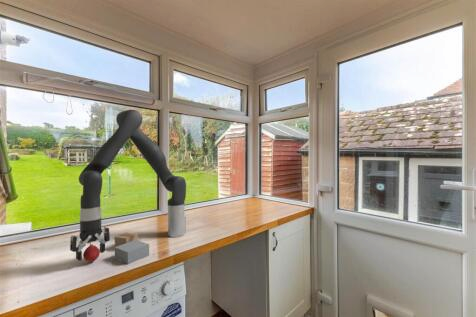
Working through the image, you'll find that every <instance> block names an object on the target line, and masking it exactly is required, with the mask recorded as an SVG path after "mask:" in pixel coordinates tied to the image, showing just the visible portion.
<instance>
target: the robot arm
mask: <svg viewBox="0 0 476 317" xmlns="http://www.w3.org/2000/svg"><path fill="white" fill-rule="evenodd" d="M115 119H116V120H115V122H116V123H117V126H118V128H117V129H116V130H115V132H114V133H113V134H112V136H110V137H109V138H108V139H107V140H106V141H105V142H104V143H103V144H102V146H101V147H100V148H99V149H98V151H97V152H96V153H95V155H94V157H93V158H92V160H91V161H90V162H89V163H88V164H87V165H86V166H85V167H84V169H82V171H81V173H80V174H79V175H78V182H79V184H80V185H81V186H82V195H80V210H79V211H80V212H79V234H77V235H71V236H70V242H69V244H70V245H69V246H70V247H69V251H71V252H73V253H75V259H76V260H77V261H82V260H83V251H82V250H83V248H84V247H86V245H87V244H90V243H91V244H92V242H96V241H98V242H99V250H100V253H101V254H104V253H105V251H106V243H108V242H110V240H111V239H110V228H109V227H106V226H104V227H103V228H102V207H101V194H102V188H103V176H102V173H103V172H104V171H105V170H106V169H108V168H110V166H111V165H112V163H113V162H114V160H115V159H116V157H117V155H118V154H119V152H120V151H121V150H122V148H123V147H124V145H125V144H126V143H127V142H128V140H129V139H130V140H131V141H132V143H133V144H134V146H135V148H137V150H138V152H139V153H140V154H141V155H142V156H143V158H144V160H145V161H146V162H147V164H148V165H149V166H150V167H151V169H152V170H153V171H154V173H155V174H156V175H157V176H158V178H159V180H160V181H161V184H163V187H164V188H165V189H166V190H167V192H169V193H170V192H171V197H170V198H168V200H167V236H168V237H170V238H179V237H183V236H184V235H185V234H186V233H187V217H186V216H185V201H186V197H187V182H186V179H185V178H184V177H183V176H179V175H174V174H173V173H172V172H171V170H170V169H169V167H168V165H167V158H166V156H165V154H164V152H163V151H162V149H161V148H160V146H159V145H158V144H157V143H156V142H155V141H153V139H151V138H150V137H149V136H148V135H147V134H145V133H144V131H143V130H142V129H141V126H142V124H143V116H142V114H141V112H139V111H138V110H136V109H127V110H122V111H120V112H118V113H117V115H116V118H115ZM102 233H103V237H102V236H101V234H102ZM79 239H80V241H79ZM78 241H79V242H78ZM77 242H78V244H77Z"/></svg>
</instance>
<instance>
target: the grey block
mask: <svg viewBox="0 0 476 317" xmlns="http://www.w3.org/2000/svg"><path fill="white" fill-rule="evenodd" d="M148 256H150V244H149V243H147V242H143V241H141V240H138V239H137V240H134V241H131V242H128V243H125V244H123V245H120V246H117V247H115V246H114V259H115V260H116V261H120V262H121V263H124V264H126V265H130V264H132V263H134V262H137V261H139V260H141V259H143V258H146V257H148Z"/></svg>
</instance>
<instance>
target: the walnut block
mask: <svg viewBox="0 0 476 317" xmlns="http://www.w3.org/2000/svg"><path fill="white" fill-rule="evenodd" d="M134 240H138V233H137V232H129V231H128V232H127V231H125V232H123V233H120V234H118V235H115V236H114V248H115V247H117V246H120V245H123V244H125V243H128V242H131V241H134Z"/></svg>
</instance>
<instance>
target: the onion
mask: <svg viewBox="0 0 476 317" xmlns="http://www.w3.org/2000/svg"><path fill="white" fill-rule="evenodd" d="M100 253H101V252H100V248H99V247H98V246H96V245H94V244H93V243H92V242H91V243H89V246H87V247H86V248H85V249H84V251H83V252H82V258H83V259H84V260H85V261H86V262H87V263H90V264H92V263H93V262H94V261H96V260H97V259H98V258H99V256H100Z"/></svg>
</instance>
